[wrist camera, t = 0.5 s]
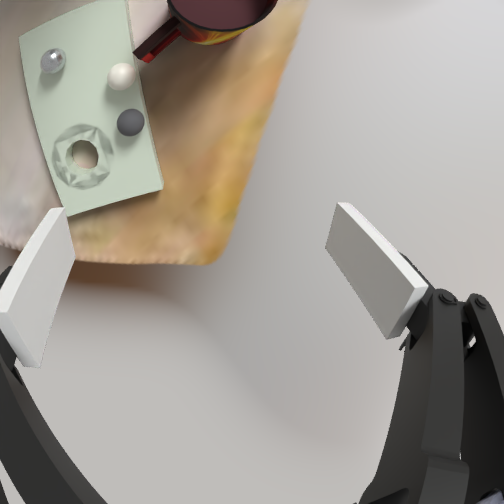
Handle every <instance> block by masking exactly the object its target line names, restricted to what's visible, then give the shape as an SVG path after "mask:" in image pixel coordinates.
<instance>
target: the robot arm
mask: <svg viewBox="0 0 504 504" xmlns="http://www.w3.org/2000/svg"><path fill="white" fill-rule="evenodd" d="M325 249H327V251H328V253H329V254H330V256H331V257H332V258H333V260H334V261H335V263H336V264H337V266H338V267H339V268H340V270H341V271H342V273H343V274H344V276H345V277H346V278H347V280H348V282H349V283H350V285H351V286H352V287H353V289H354V290H355V292H356V294H357V295H358V297H359V298H360V300H361V301H362V302H363V304H364V306H365V307H366V309H367V310H368V312H369V313H370V315H371V316H372V318H373V320H374V321H375V323H376V324H377V325H378V327H379V329H380V330H381V332H382V334H383V335H384V337H385V338H386V339H391V338H395V337H398V336H400V335H401V334H402V332H403V330H404V329H405V327H406V326H407V328H408V329H409V330H410V332H409V334H408V335H407V337H406V339H405V340H404V342H403V343H402V345H401V346H400V349H399V350H402V348H403V347H404V346H405V351H404V352H405V353H404V359H403V365H402V371H401V377H400V382H399V387H398V392H397V398H396V402H395V407H394V411H393V415H392V419H391V424H390V428H389V431H388V435H387V439H386V442H385V446H384V449H383V453H382V456H381V460H380V462H379V466H378V469H377V472H376V475H375V477H374V479H373V481H372V482H371V483H370V485H369V486H368V487H367V488H366V490H365V491H364V493H363V495H362V497H361V499H360V502H359V504H504V335H503V332H502V330H501V327H500V325H499V323H498V321H497V318H496V316H495V314H494V312H493V310H492V307H491V305H490V304H489V302H488V301H487V300H486V299H485V298H484V297H482V296H481V295H478V294H474V293H473V294H471V295H470V296H469V298H468V299H467V301H466V302H460V301H458V300H457V299H456V297H455V296H454V295H453V294H452V293H450V292H449V291H447V290H444V289H436V290H435V288H434V287H433V286H432V285H431V284H430V283H429V282H428V280H427V279H426V278H425V277H424V276H423V275H422V274H421V272H420V271H418V269H417V268H416V267H415V266H414V265H412V263H411V261H410V260H409V259H408V258H407V257H406V256H404V255H403V254H401V253H400V252H399V251H397V250H396V249H395V248H394V247H393V246H392V245H391V244H390V243H389V242H388V241H387V240H386V239H385V238H384V237H383V236H382V235H381V233H380V232H379V231H378V230H377V229H376V228H374V226H373V225H372V224H371V223H370V222H369V221H368V220H366V218H365V217H364V216H363V215H361V214H360V213H359V212H358V211H357V210H356V209H355V208H354V207H353V206H352V205H351V204H350V203H337V205H336V209H335V212H334V216H333V220H332V224H331V228H330V232H329V236H328V239H327V243H326V246H325ZM75 257H76V256H75V252H74V248H73V244H72V240H71V235H70V231H69V226H68V221H67V216H66V211H65V207H61V208H51V209H50V210H49V212H48V213H47V214H46V216H45V217H44V219H43V220H42V222H41V223H40V224H39V226H38V227H37V229H36V230H35V232H34V233H33V235H32V236H31V238H30V240H29V241H28V243H27V244H26V246H25V247H24V249H23V251H22V253H21V254H20V256H19V257H18V259H17V261H16V262H15V264H14V266H9V267H8V268H7V269H6V270H5V271H4V272H3V273H2V274H1V275H0V460H1V462H2V464H3V466H4V468H5V470H6V471H7V473H8V475H9V477H10V479H11V480H12V482H13V484H14V486H15V487H16V489H17V491H18V492H19V494H20V496H21V497H22V499H23V500H24V502H25V503H26V504H107V503H106V502H105V500H104V499H103V498H102V497H101V496H100V495H99V494H98V493H97V491H96V490H95V489H94V488H93V487H92V486H91V484H90V483H89V482H88V481H87V479H86V478H85V477H84V476H83V475H82V473H81V472H80V471H79V469H78V468H77V467H76V466H75V464H74V463H73V462H72V460H71V459H70V458H69V456H68V455H67V453H66V452H65V450H64V449H63V448H62V446H61V445H60V443H59V442H58V440H57V439H56V437H55V436H54V434H53V433H52V431H51V430H50V428H49V426H48V425H47V423H46V422H45V420H44V418H43V417H42V415H41V413H40V411H39V410H38V408H37V406H36V405H35V403H34V401H33V399H32V397H31V395H30V393H29V392H28V390H27V388H26V386H25V384H24V382H23V380H22V378H21V376H20V374H19V372H18V370H17V368H16V367H15V366H14V364H15V360H16V357H17V358H18V359H19V361H20V362H21V363H22V365H23V366H26V367H35V368H40V366H41V361H42V358H43V353H44V350H45V346H46V342H47V339H48V335H49V332H50V328H51V324H52V321H53V318H54V315H55V312H56V309H57V306H58V303H59V300H60V297H61V294H62V291H63V289H64V286H65V283H66V280H67V278H68V275H69V273H70V270H71V267H72V265H73V262H74V260H75ZM474 336H475V338H476V342H475V344H474V345H473V346H472V347H470V345H469V342H470V341H471V340H472V338H473V337H474ZM460 454H461V460H460ZM0 504H9V503H8V501H7V498H6V496H5V493H4V490H3V487H2V484H1V481H0ZM354 504H357V503H354Z"/></svg>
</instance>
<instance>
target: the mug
mask: <svg viewBox="0 0 504 504" xmlns="http://www.w3.org/2000/svg"><path fill="white" fill-rule="evenodd" d="M277 1H278V0H167V3H168V7H169V12H170V17H171V19H169V20H168V21H167V22H166V23H165V24H163V25H162V26H161V27H160V28H159V29H158V30H156V31H155V32H154V33H153V34H152V35H151V36H150V37H149V38H148V39H147V40H145V41H144V42H143V43H142V44H141V45H140V46H139V47H138V48H137V49H136V50H134V51H133V52H132V53H133V54H134V55H135V56H136V57H137V58H138V59H140V60H143V61H144V62H146V63H149V62H150V61H152V60H153V59H154V58H155V57H156V56H157V55H158V54H159V53H160V52H161V51H163V50H164V49H165V48H166V47H167V46H168V45H169V44H170V43H172V42H173V41H174V40H175V39H176V38H177V37H179V36H180V35H181V36H183V37H184V38H185V39H187V40H189V41H191V42H194V43H198V44H202V45H215V44H220V43H224V42H227V41H229V40H231V39H233V38H234V37H236V36H237V35H239V34H240V33H242V32H244V31H245V30H247V29H248V28H250V27H251V26H253V25H255V24H256V23H258V22H260V21H261V20H263V19H264V18H265V17H266V16H267V15H268V14H270V12H271V11H272V10H273V8H274V7H275V6H276V3H277Z"/></svg>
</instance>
